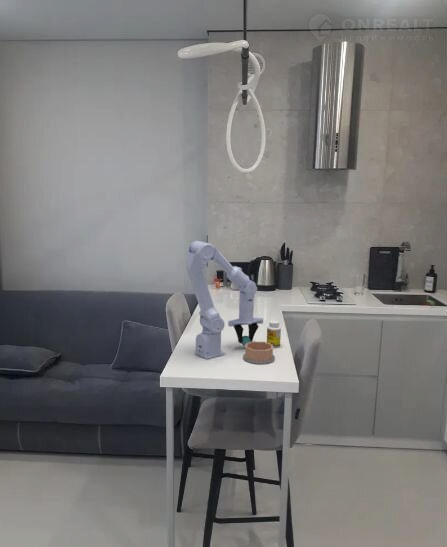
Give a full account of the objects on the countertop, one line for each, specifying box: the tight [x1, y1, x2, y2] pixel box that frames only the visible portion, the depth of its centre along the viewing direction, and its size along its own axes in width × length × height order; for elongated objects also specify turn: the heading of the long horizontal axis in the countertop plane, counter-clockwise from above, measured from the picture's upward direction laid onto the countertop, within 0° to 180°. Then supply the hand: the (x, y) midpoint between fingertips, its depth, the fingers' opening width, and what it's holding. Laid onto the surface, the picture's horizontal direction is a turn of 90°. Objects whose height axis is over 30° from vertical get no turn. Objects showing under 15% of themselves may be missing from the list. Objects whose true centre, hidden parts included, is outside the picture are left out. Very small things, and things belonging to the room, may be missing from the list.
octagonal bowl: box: [242, 340, 276, 365], centre depth 173 cm, size 12×12×5 cm
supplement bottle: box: [266, 320, 282, 349], centre depth 187 cm, size 6×6×10 cm
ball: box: [240, 335, 250, 347], centre depth 185 cm, size 4×4×4 cm
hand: (245, 342), depth 185 cm, fingers closed on ball, 4 cm apart
